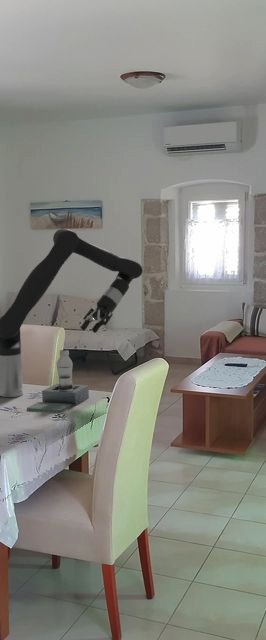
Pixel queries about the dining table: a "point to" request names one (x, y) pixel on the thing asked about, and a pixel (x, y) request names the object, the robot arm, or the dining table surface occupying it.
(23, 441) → the dining table surface
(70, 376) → the silver metal bottle
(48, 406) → the grey-green rectangular panel
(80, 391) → the metal collar
